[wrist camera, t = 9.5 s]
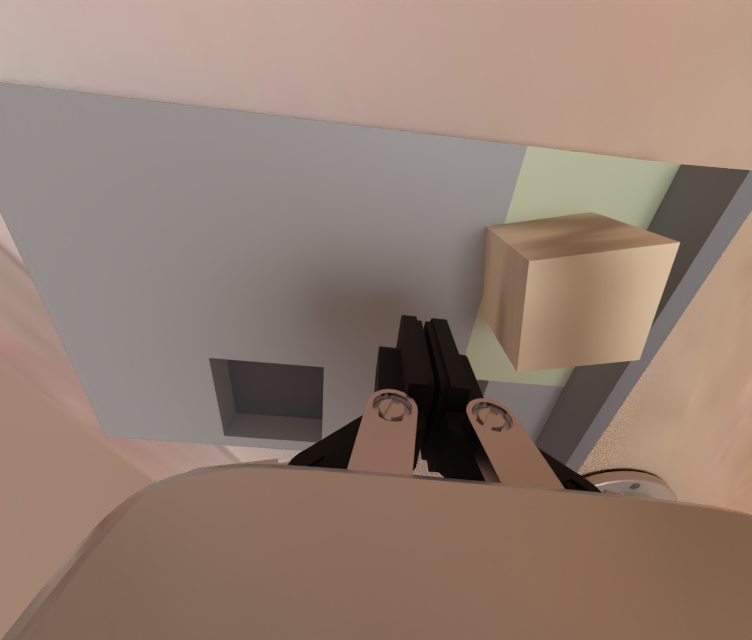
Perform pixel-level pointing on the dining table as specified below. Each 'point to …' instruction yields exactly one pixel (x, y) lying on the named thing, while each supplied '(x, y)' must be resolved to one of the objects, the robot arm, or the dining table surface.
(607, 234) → the block
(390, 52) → the dining table surface
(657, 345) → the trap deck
